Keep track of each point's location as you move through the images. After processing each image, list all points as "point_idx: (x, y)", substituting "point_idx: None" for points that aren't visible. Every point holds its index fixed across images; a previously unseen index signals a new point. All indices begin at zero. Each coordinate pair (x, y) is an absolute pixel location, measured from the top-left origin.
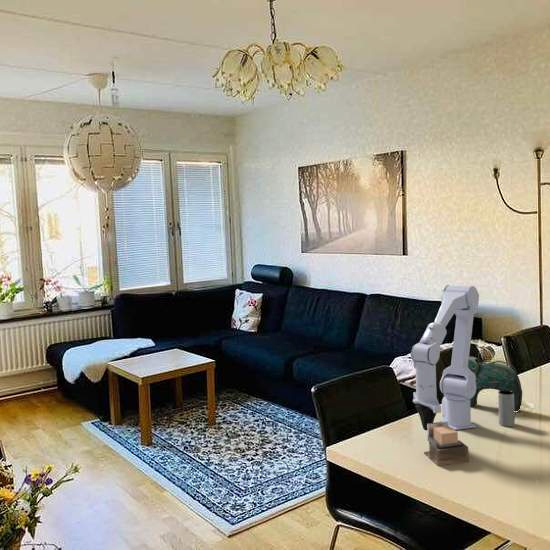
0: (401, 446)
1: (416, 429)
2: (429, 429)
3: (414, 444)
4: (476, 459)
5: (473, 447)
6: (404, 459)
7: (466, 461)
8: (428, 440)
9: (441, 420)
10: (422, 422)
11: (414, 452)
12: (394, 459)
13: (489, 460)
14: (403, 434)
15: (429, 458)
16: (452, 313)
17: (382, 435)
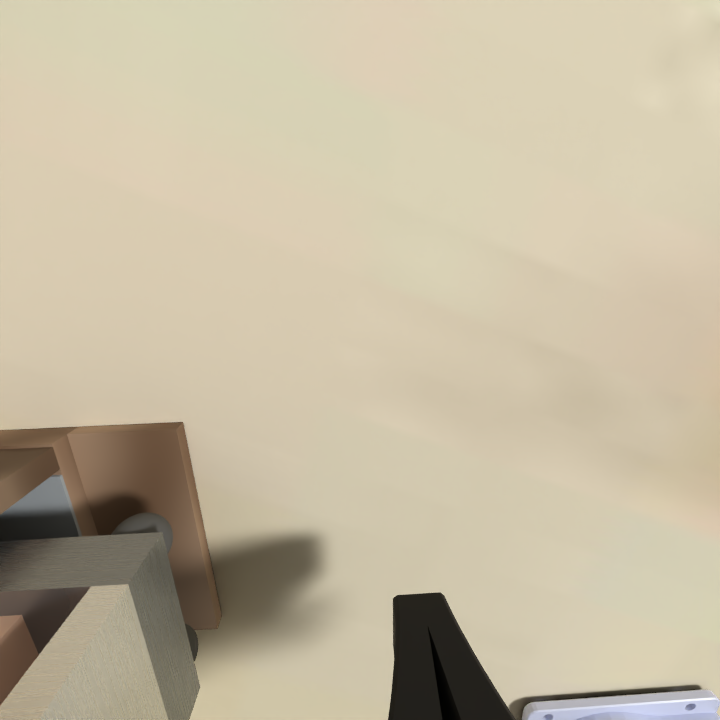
0: (380, 299)
1: (660, 525)
2: (11, 705)
3: (389, 417)
4: None
5: (240, 708)
6: (70, 215)
7: None
8: (134, 539)
9: (692, 701)
10: (446, 676)
11: (223, 360)
12: (74, 108)
13: None
14: (621, 407)
15: (76, 427)
16: None
17: (699, 217)
